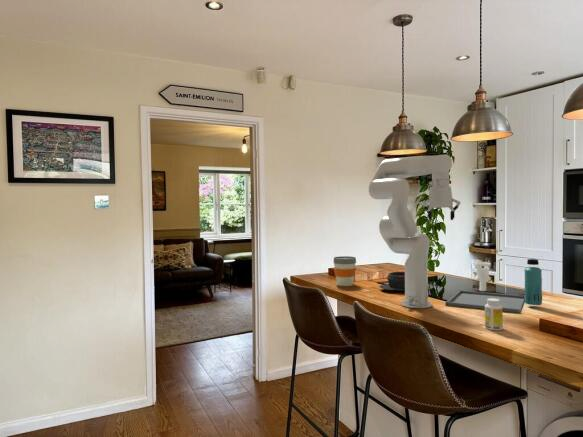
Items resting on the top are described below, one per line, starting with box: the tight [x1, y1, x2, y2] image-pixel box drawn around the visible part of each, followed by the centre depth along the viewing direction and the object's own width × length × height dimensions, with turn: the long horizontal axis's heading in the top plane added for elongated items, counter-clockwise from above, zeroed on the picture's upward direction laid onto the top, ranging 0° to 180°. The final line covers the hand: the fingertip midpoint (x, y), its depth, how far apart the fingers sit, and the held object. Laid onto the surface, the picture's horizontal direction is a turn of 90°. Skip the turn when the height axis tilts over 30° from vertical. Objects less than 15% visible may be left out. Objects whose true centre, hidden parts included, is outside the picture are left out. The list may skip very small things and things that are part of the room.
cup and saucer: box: [378, 271, 405, 293], centre depth 213 cm, size 25×19×8 cm
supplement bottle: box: [484, 298, 504, 331], centre depth 145 cm, size 6×6×10 cm
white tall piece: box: [474, 259, 492, 292], centre depth 207 cm, size 7×7×15 cm
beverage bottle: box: [523, 258, 543, 306], centre depth 173 cm, size 6×7×20 cm
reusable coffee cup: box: [333, 255, 357, 287], centre depth 231 cm, size 13×13×15 cm
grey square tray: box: [445, 289, 525, 314], centre depth 183 cm, size 28×28×2 cm
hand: (441, 219), depth 196 cm, fingers open, 9 cm apart
